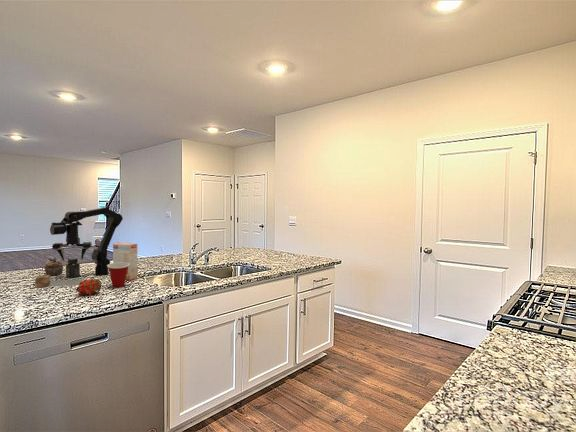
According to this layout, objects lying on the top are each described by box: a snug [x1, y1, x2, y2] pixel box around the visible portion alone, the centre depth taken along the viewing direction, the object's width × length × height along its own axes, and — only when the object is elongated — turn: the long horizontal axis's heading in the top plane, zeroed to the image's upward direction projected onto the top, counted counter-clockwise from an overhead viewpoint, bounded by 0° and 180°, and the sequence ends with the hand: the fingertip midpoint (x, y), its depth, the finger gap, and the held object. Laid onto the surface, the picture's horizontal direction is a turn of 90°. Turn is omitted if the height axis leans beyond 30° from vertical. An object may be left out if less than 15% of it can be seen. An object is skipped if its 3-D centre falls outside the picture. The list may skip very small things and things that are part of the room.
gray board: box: [37, 278, 85, 289], centre depth 181 cm, size 20×14×1 cm
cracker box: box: [112, 242, 138, 281], centre depth 199 cm, size 14×6×21 cm, turn 65°
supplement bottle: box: [65, 257, 81, 280], centre depth 195 cm, size 7×7×12 cm
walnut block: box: [34, 274, 51, 289], centre depth 175 cm, size 5×5×5 cm
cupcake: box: [44, 257, 64, 277], centre depth 205 cm, size 10×10×10 cm
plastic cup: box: [107, 262, 129, 288], centre depth 181 cm, size 11×11×12 cm
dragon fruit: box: [75, 277, 102, 296], centre depth 165 cm, size 8×8×12 cm
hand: (72, 260), depth 195 cm, fingers open, 9 cm apart
